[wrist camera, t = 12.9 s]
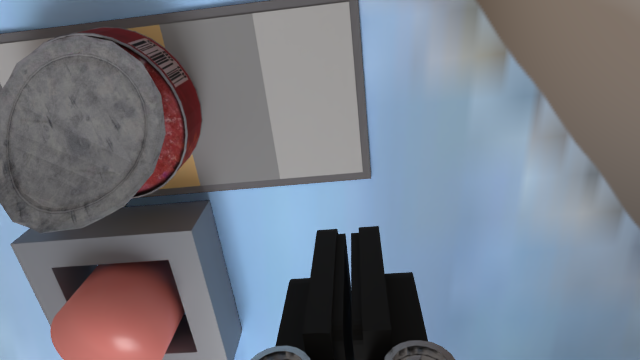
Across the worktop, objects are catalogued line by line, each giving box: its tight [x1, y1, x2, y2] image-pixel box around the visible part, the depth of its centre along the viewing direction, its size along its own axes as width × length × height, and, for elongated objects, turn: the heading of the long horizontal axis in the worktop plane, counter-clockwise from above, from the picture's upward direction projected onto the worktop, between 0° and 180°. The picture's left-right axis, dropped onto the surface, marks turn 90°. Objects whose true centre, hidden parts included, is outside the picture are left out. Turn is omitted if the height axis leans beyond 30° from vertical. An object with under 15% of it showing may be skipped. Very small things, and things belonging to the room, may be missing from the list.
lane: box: [0, 0, 371, 198], centre depth 28 cm, size 23×12×1 cm, turn 97°
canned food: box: [0, 27, 202, 233], centre depth 25 cm, size 11×10×10 cm
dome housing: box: [11, 200, 242, 360], centre depth 32 cm, size 12×12×4 cm
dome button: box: [51, 260, 185, 360], centre depth 30 cm, size 7×7×6 cm
